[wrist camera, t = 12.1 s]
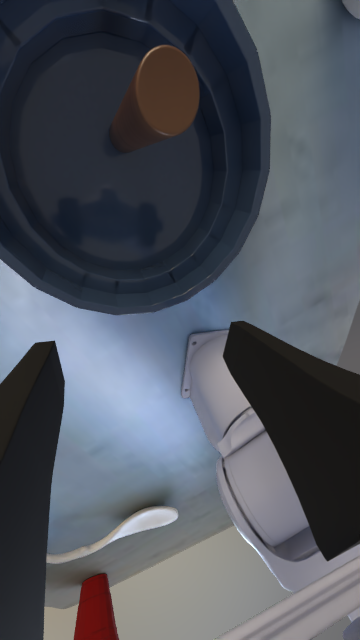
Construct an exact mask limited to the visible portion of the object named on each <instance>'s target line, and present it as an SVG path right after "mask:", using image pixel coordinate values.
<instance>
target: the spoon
mask: <svg viewBox="0 0 360 640" xmlns="http://www.w3.org/2000/svg"><path fill="white" fill-rule="evenodd" d="M177 517H178V510H177V509H176V508H173V507H168V506H153V507H148V508H145V509H142V510H140V511H138V512H136V513H134V514H133V515H131V516H130V517H128V518H127V519H126V520H124V521H123V522H122V523H121V524H120V525H118V526H117V527H116V528H115V529H114V530H113V531H112V532H111V533H110V534H108V535H107V536H106V537H104V538H103V539H101V540H100V541H98V542H96V543H94V544H91V545H88V546H87V545H86V546H82V547H80V548H78V549H76V550H73V551H70V552H67V553H63V554H50V553H47V557H46V562H48V563H64V562H67V561H70V560H73V559H77V558H80V557H85V556H86V555H88V554H91V553H93V552H95V551H97V550H99V549H101V548H102V547H104V546H105V545H107V544H108V543H110V542H112V541H114V540H116V539H118V538H121V537H124V536H127V535H130V534H134V533H137V532H140V531H144V530H148V529H152V528H156V527H160V526H163V525H167V524H169V523H171V522H173V521H175V520H176V519H177Z"/></svg>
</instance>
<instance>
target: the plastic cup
mask: <svg viewBox="0 0 360 640" xmlns="http://www.w3.org/2000/svg"><path fill="white" fill-rule="evenodd" d="M74 640H119V638H118V634H117V628H116V624H115V618H114V612H113V605H112V599H111V594H110V590H109V583H108V578H107V575H106V574H100V575H96V576H94V577H91V578H89V579H87V580H86V581H84V582H83V583H82V587H81V593H80V601H79V606H78V612H77V620H76V627H75V634H74Z"/></svg>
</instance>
